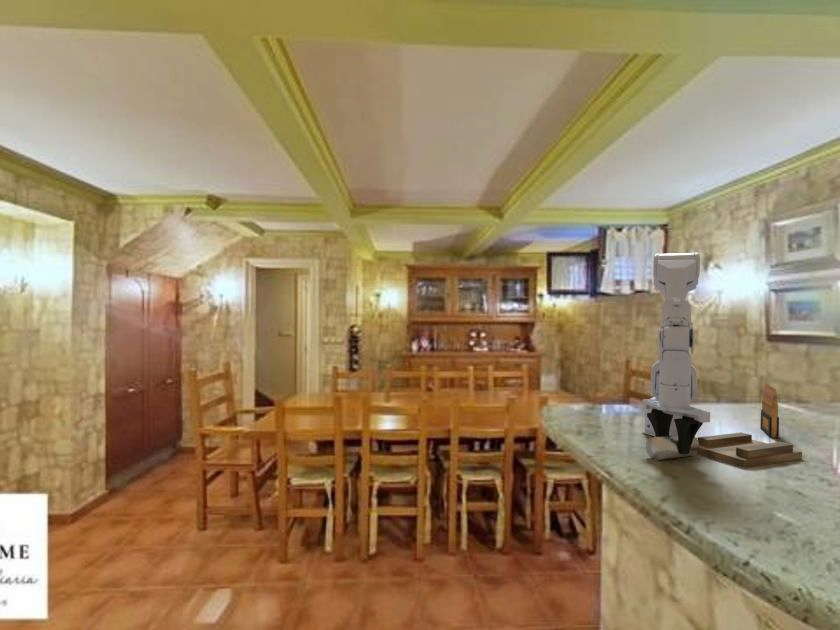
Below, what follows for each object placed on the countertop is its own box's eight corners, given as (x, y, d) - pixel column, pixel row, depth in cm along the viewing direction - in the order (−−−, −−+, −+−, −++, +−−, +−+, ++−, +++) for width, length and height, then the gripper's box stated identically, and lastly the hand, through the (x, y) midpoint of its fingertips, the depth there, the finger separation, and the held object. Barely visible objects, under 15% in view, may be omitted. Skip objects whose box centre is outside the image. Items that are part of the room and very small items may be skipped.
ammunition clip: (778, 438, 119) (780, 389, 118) (769, 437, 119) (770, 388, 119) (768, 429, 128) (769, 383, 128) (760, 428, 129) (761, 383, 129)
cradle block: (688, 451, 106) (688, 437, 106) (744, 444, 113) (744, 431, 113) (744, 468, 95) (744, 452, 94) (801, 459, 102) (802, 444, 101)
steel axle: (642, 442, 102) (657, 434, 99) (677, 438, 106) (692, 430, 102) (652, 463, 99) (667, 455, 96) (687, 458, 103) (703, 450, 100)
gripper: (632, 380, 106) (630, 442, 106) (692, 390, 93) (691, 462, 93) (656, 378, 109) (654, 440, 109) (718, 388, 95) (716, 458, 96)
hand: (673, 450), depth 101 cm, fingers closed on steel axle, 4 cm apart
